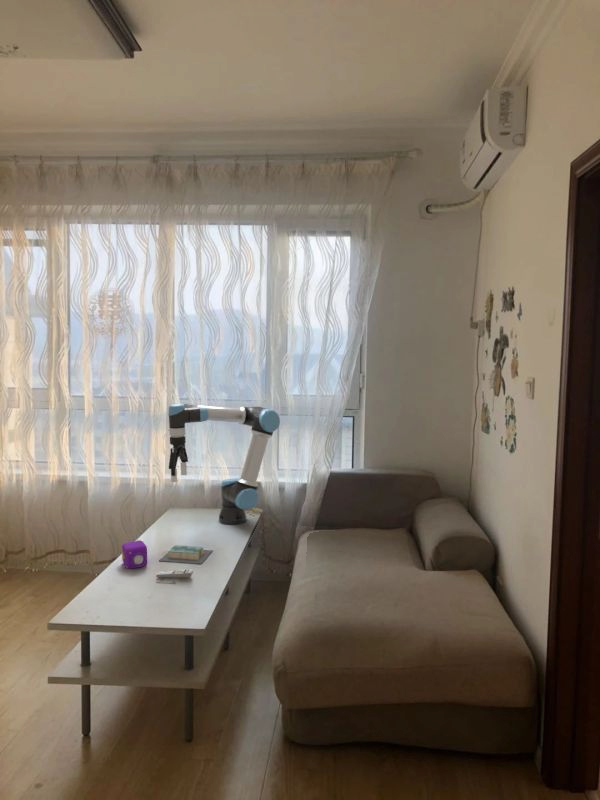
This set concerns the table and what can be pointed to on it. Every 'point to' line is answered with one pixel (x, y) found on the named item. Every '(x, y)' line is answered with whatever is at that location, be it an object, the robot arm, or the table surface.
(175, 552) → the tile
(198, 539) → the table surface
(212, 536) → the table surface
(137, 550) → the toy camera
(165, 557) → the mat
